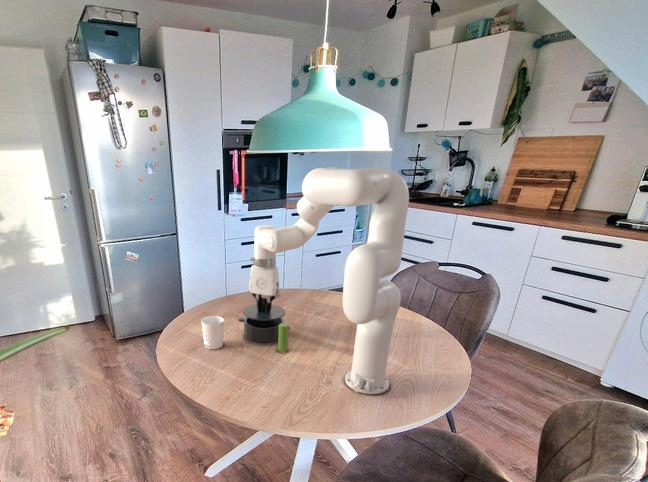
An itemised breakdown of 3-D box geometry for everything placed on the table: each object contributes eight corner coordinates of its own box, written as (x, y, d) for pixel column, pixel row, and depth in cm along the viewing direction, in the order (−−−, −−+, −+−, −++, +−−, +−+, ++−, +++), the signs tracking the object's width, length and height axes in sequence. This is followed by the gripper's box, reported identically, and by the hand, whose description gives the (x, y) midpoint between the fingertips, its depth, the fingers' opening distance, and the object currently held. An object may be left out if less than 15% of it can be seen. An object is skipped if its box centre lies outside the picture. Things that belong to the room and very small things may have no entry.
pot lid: (275, 325, 133) (275, 307, 130) (235, 317, 139) (235, 300, 137) (291, 310, 145) (292, 293, 143) (254, 303, 152) (254, 287, 149)
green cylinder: (285, 354, 133) (286, 327, 129) (276, 352, 134) (277, 325, 130) (288, 350, 136) (289, 324, 132) (280, 348, 137) (281, 322, 133)
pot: (281, 349, 136) (281, 333, 133) (231, 338, 144) (230, 322, 142) (295, 334, 148) (296, 318, 145) (248, 324, 156) (248, 309, 154)
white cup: (219, 351, 135) (218, 325, 131) (199, 348, 137) (197, 322, 133) (227, 342, 142) (227, 317, 138) (207, 339, 144) (206, 314, 140)
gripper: (239, 262, 135) (239, 311, 142) (282, 267, 128) (280, 318, 135) (249, 257, 141) (248, 304, 148) (290, 262, 134) (288, 311, 141)
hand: (264, 310), depth 142 cm, fingers closed on pot lid, 2 cm apart
